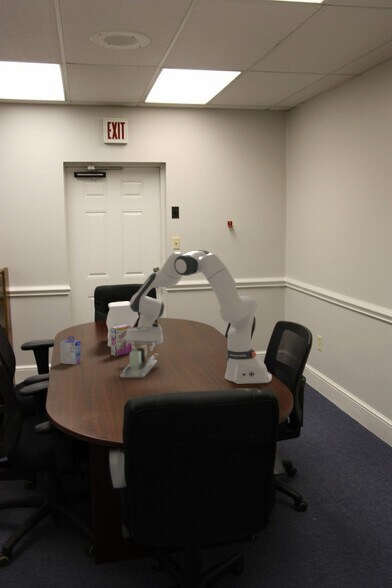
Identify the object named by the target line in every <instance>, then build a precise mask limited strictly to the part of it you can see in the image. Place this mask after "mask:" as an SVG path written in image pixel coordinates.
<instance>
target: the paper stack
mask: <svg viewBox="0 0 392 588" xmlns="http://www.w3.org/2000/svg"><path fill="white" fill-rule="evenodd" d="M107 305H108V308H109V311H108V313H107V317H106V327H107V330H108V331H107V340H108V341H107V347H108V346H109V347H108V348H111V327H116V326H121V325H129V326H131V327H132V328H134V327H135V325H136V323H137V321H139V320H138V319H140V315H139V313H138V312H134V311H132V309H131V308H130V301H127V300H126V301H116V302H110V303H108V304H107Z"/></svg>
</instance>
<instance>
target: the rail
mask: <svg viewBox="0 0 392 588" xmlns="http://www.w3.org/2000/svg"><path fill="white" fill-rule="evenodd" d="M155 358H156V357H155V355H151V356H150V357H149V358H148V361H147V362H146V363H145V365H141V351H137V350H131V352H130V353H129V363H128V365H126V366H125V367H124V369H123V370H122V373H121V374H120V375H119V376H120V378H129V379H130V378H133V379H134V378H135V379H136V378H137V379H138V378H139V379H142V378H143V379H145V378H146V376H147V375H148V374H149V373H150V372H151V370H152V369H153V367H154V366H155V365H156V364H157V362H158V360H157V359H155Z"/></svg>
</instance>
